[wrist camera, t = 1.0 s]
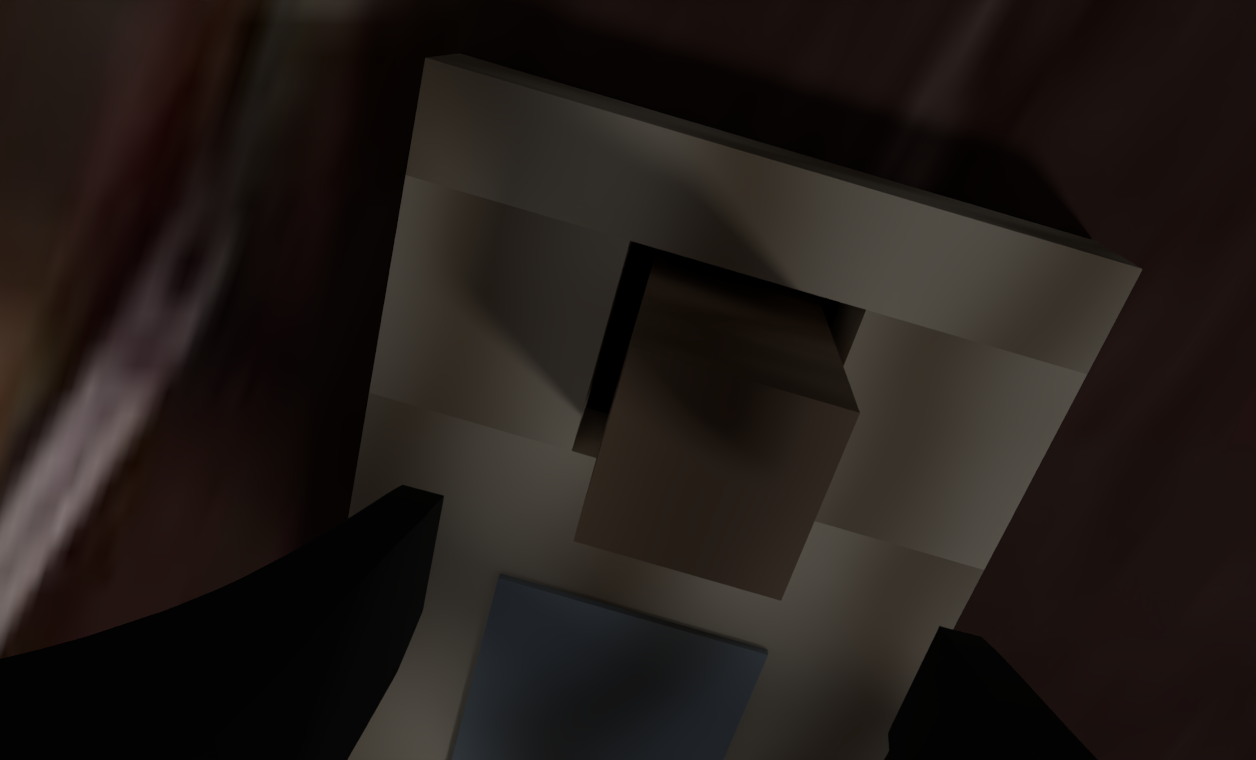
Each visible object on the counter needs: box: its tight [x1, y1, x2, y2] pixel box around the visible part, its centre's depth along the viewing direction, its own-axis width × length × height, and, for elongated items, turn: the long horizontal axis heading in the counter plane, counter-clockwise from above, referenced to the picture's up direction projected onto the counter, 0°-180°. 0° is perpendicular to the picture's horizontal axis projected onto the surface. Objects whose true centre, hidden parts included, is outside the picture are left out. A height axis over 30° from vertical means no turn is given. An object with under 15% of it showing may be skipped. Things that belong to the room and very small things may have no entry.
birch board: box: [348, 53, 1142, 760], centre depth 23 cm, size 15×20×3 cm
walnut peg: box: [573, 249, 860, 601], centre depth 19 cm, size 4×4×7 cm
